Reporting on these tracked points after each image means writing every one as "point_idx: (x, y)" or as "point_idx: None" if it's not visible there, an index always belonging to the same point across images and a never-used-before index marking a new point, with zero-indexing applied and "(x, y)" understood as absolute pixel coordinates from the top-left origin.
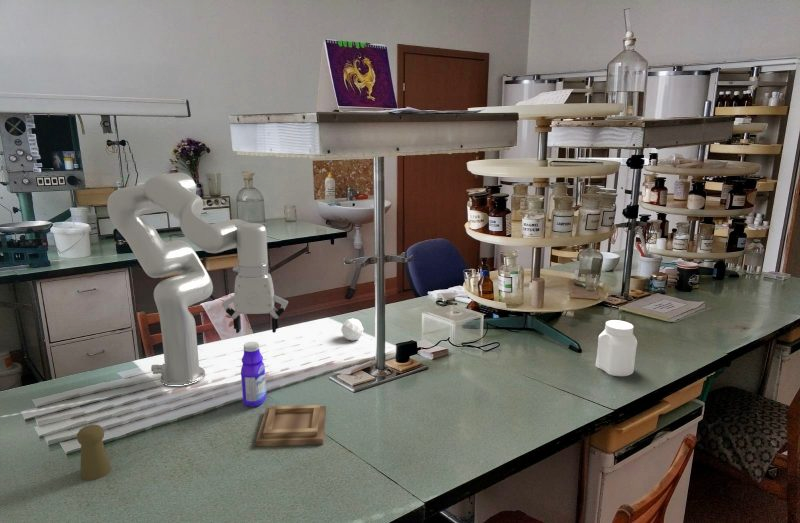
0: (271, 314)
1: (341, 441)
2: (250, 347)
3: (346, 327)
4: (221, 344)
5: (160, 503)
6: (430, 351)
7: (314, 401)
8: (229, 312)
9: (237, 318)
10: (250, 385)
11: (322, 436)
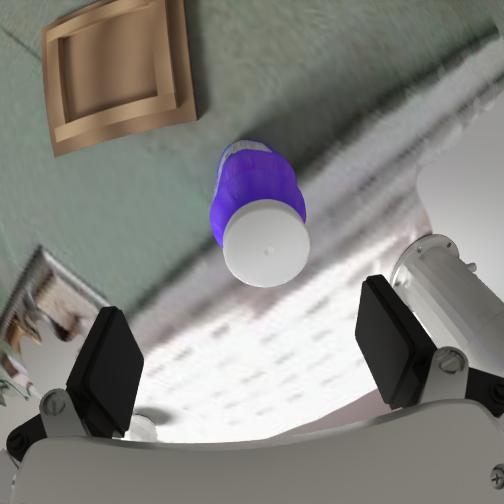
0: (78, 427)
1: (21, 53)
2: (261, 209)
3: (140, 435)
4: (365, 387)
5: None
6: (21, 375)
7: (96, 194)
8: (488, 387)
9: (414, 366)
10: (249, 145)
11: (42, 35)
